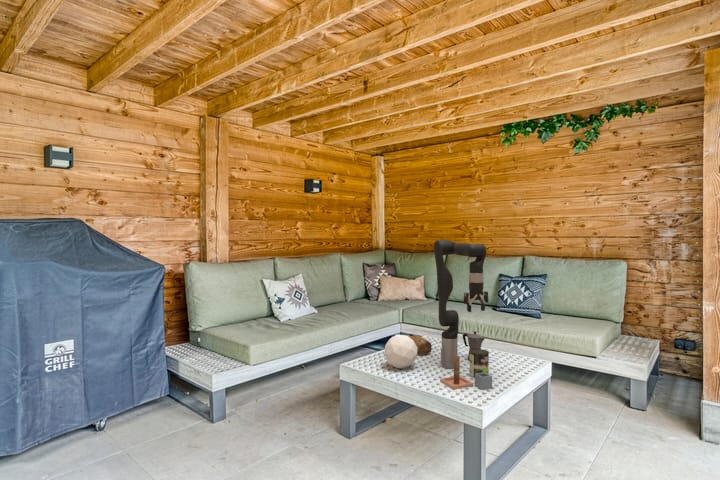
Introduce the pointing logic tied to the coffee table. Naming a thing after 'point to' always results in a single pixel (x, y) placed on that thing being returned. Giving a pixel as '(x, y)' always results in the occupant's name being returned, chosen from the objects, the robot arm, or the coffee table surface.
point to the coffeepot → (473, 341)
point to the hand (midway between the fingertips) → (476, 311)
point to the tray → (450, 383)
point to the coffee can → (479, 361)
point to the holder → (483, 381)
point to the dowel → (456, 370)
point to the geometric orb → (401, 351)
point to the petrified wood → (421, 345)
